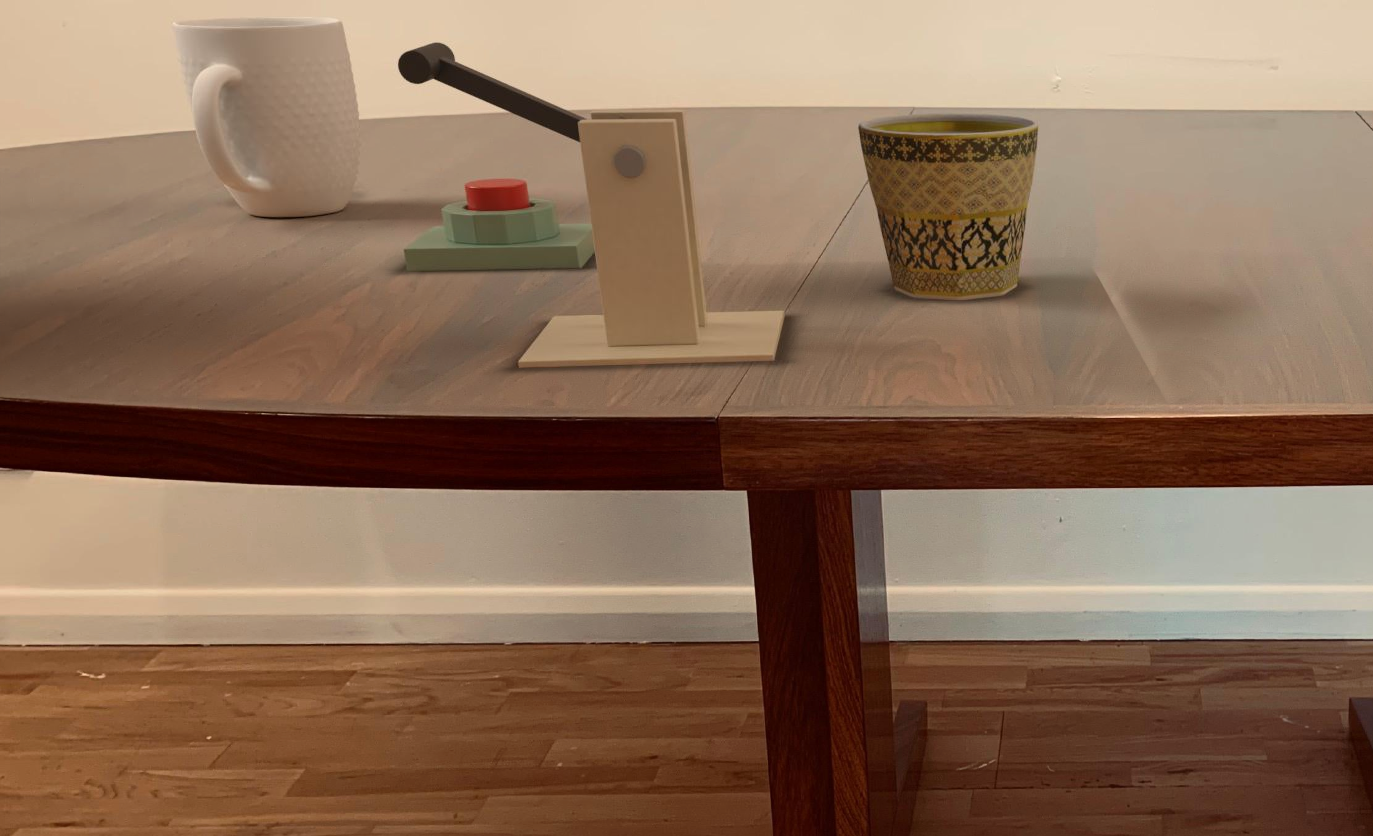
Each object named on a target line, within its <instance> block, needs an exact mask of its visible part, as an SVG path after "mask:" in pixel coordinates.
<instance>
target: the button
mask: <svg viewBox="0 0 1373 836" xmlns="http://www.w3.org/2000/svg"><path fill="white" fill-rule="evenodd" d="M464 191H465V197H466V201H467V204H468V210H471V211H508V210H518V209H524V208H529V207H530V202H529V198H530V195H529V189H528V183H527V181H526V180H523V179H518V178H488V179H478V180H472V181H469V182H465V184H464Z"/></svg>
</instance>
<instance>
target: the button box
mask: <svg viewBox="0 0 1373 836" xmlns="http://www.w3.org/2000/svg"><path fill="white" fill-rule="evenodd" d="M529 202H530V207H529V208H524V209H518V210H508V211H471V210H468V204H467V200H463V201H457V202H453V203H448V204H446V205H445V206H443V207H442V208H441V209H440V211H441V216H442V223H443V225H434V226H433V227H431V228H430V229H429V230H428V231H426V232H425V233H423V234H421V236H419V237H418V238H416V239H415V240H413V242H411V243H410V244H408V245H407V246H405V247H404V248H403V254H404V260H405V265H406V270H407V272H425V271H427V272H430V271H475V270H476V271H478V270H479V271H480V270H485V271H487V270H527V269H529V270H530V269H531V270H532V269H535V270H537V269H576V268H577V269H579V268H580V269H581V268H583V266H584V265H586V263H587V262H588V260H590V258H591V257H592V256H593V255H594V254H595V249H594V242H593V234H592V227H591V222H588V223H584V222H583V223H560V222H559V213H558V208H557V202H555V201H552V200H549V199H546V198H538V197H537V198H534V197H529Z"/></svg>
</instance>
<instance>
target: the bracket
mask: <svg viewBox="0 0 1373 836" xmlns="http://www.w3.org/2000/svg"><path fill="white" fill-rule="evenodd" d="M619 117H623V118H626V119H618V118H619ZM578 129H579V136H580V142H579V143H580V150H581V151H580V152H581V156H582V157H581V158H582V159H581V160H582V166H583V174H584V180H585V187H586V195H587V196H586V197H587V204H588V210H589V219H590V223H591V227H592V234H593V242H594V249H595V252H594V255H595V263H596V271H597V278H598V285H599V293H600V294H599V295H600V300H601V308H602V314H583V315H581V314H580V315H576V314H575V315H554V316H552V318H551V319H550V320H549V322H548V323H547V324H546V325H545V327H544V328H543V329H542V330H541V332H540V333H539V335H537V337H536V338H535V340H534V341H533V342H532V343H531V345H530V346H529V347H528V348H527V350H526V351H525V352H524V353H523V355H522V356H521V357H520V358H519V360H518V361H517V363H518V368H520V369H521V368H554V367H555V368H557V367H558V368H559V367H592V366H593V367H594V366H595V367H596V366H627V365H628V366H631V365H632V366H633V365H664V364H665V365H666V364H670V365H671V364H697V363H699V364H701V363H703V364H704V363H734V362H735V363H737V362H738V363H740V362H741V363H742V362H743V363H744V362H772V361H773V362H774V361H775V358H776V354H777V350H778V345H779V342H780V337H781V332H782V329H783V325H784V321H785V317H786V316H785V315H786V314H785V310H751V311H712V312H711V311H707V303H706V295H705V285H704V275H703V267H702V257H701V248H700V247H701V246H700V239H699V238H700V237H699V230H698V221H697V220H698V219H697V211H696V202H695V192H694V183H693V174H692V173H693V172H692V163H691V154H690V145H689V135H688V127H687V118H686V110H685V109H682V108H681V109H680V108H679V109H594V110H592V111H591V112H590V119H588V120H581V121H579V122H578Z"/></svg>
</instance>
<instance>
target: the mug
mask: <svg viewBox="0 0 1373 836" xmlns="http://www.w3.org/2000/svg"><path fill="white" fill-rule="evenodd" d="M172 32H173V36H174V42H175V46H176V51H177V59H178V62H179V64H180V71H181V73H182V80H183V83H184V86H185V91H186V95H187V100H188V103H189V105H190V111H191V113H192V120H193V126H194V130H195V134H196V138H197V141H198V145H199V147H200V150H201V153H202V154H203V157H204V159H205V161H206V163H207V164H208V166H209V168H210V169H211V171H212V173H213V174H214V175H215V176H216V178H217V179H218V180H219V181H220V182H221V183H222V184H223V186H224V188H225V189H226V190H227V191H228V192H229V194H230V196H232V198H233V199H234V200H235V202H236V203H237V204H238V205H239V207H241V209H242V210H244V211H245V212H246V213H247V214H248V215H251V216H254V217H263V218H264V217H265V218H302V217H303V218H304V217H313V216H322V215H328V214H333V213H338V212H341V211H342V210H344V209H345V208H346V206H347V205H348V203H349V201H350V199H351V197H352V194H353V190H354V187H355V184H356V181H357V175H358V173H359V165H360V155H361V151H360V149H361V148H360V147H361V130H360V127H361V123H360V119H359V118H360V112H359V104H358V101H357V100H358V99H357V96H358V95H357V91H356V84H355V81H354V79H355V78H354V73H353V70H352V69H353V68H352V62H351V54H350V51H349V48H348V44H347V39H346V33H345V29H344V25H343V22H342V20H341V19H338V18H334V17H320V16H239V17H235V16H234V17H213V18H197V19H188V20H187V19H185V20H178V21H174V22H173V23H172Z"/></svg>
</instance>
